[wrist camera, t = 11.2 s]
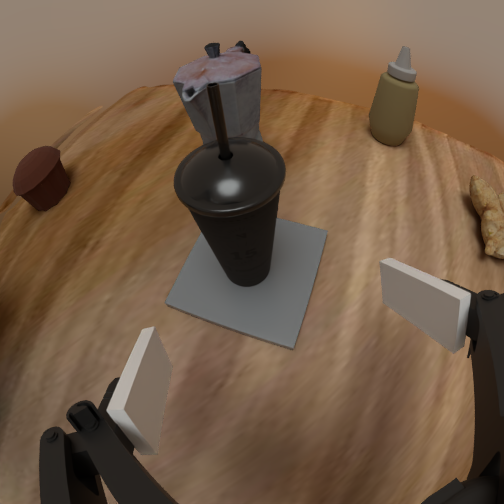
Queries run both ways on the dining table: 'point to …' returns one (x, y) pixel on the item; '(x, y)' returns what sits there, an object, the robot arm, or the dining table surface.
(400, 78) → the squeeze bottle
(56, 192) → the muffin
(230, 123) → the moka pot
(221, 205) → the drinking cup
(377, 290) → the dining table surface
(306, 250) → the slate coaster
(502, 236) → the ginger root
